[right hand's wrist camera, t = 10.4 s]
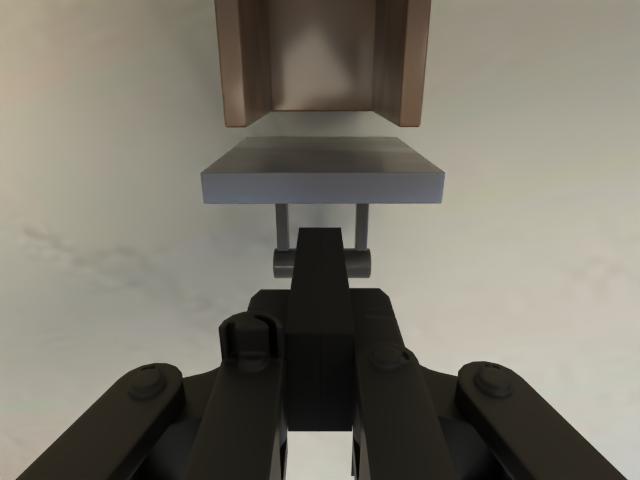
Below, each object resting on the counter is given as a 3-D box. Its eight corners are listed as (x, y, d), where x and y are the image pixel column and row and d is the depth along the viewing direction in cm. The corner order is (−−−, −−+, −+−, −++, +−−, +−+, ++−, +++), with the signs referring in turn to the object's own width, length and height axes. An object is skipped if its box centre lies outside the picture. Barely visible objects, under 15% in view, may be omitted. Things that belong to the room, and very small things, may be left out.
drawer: (390, 242, 27) (427, 328, 17) (253, 242, 27) (217, 328, 17) (422, -236, 18) (531, -572, 9) (221, -235, 18) (116, -571, 9)
